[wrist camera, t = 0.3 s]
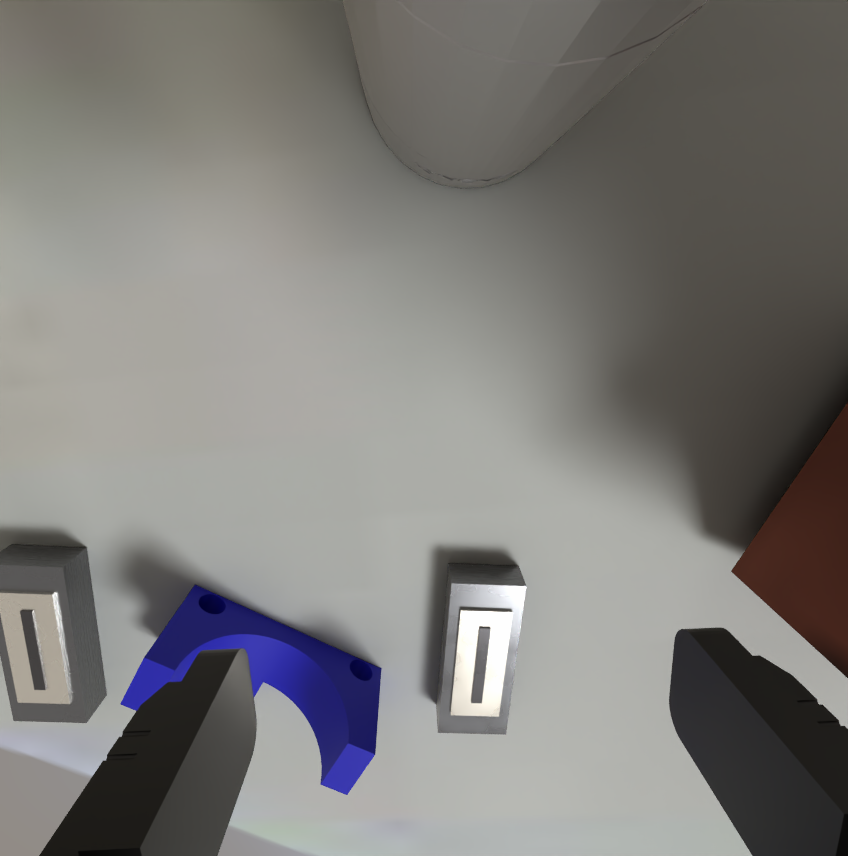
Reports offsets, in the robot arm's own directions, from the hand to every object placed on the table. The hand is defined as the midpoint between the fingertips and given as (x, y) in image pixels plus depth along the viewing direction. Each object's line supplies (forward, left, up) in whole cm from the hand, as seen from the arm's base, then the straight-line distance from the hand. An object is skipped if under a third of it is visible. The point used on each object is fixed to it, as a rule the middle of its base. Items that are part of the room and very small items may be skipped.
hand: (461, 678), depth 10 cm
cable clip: (+15, -8, -18) cm, 25 cm away
